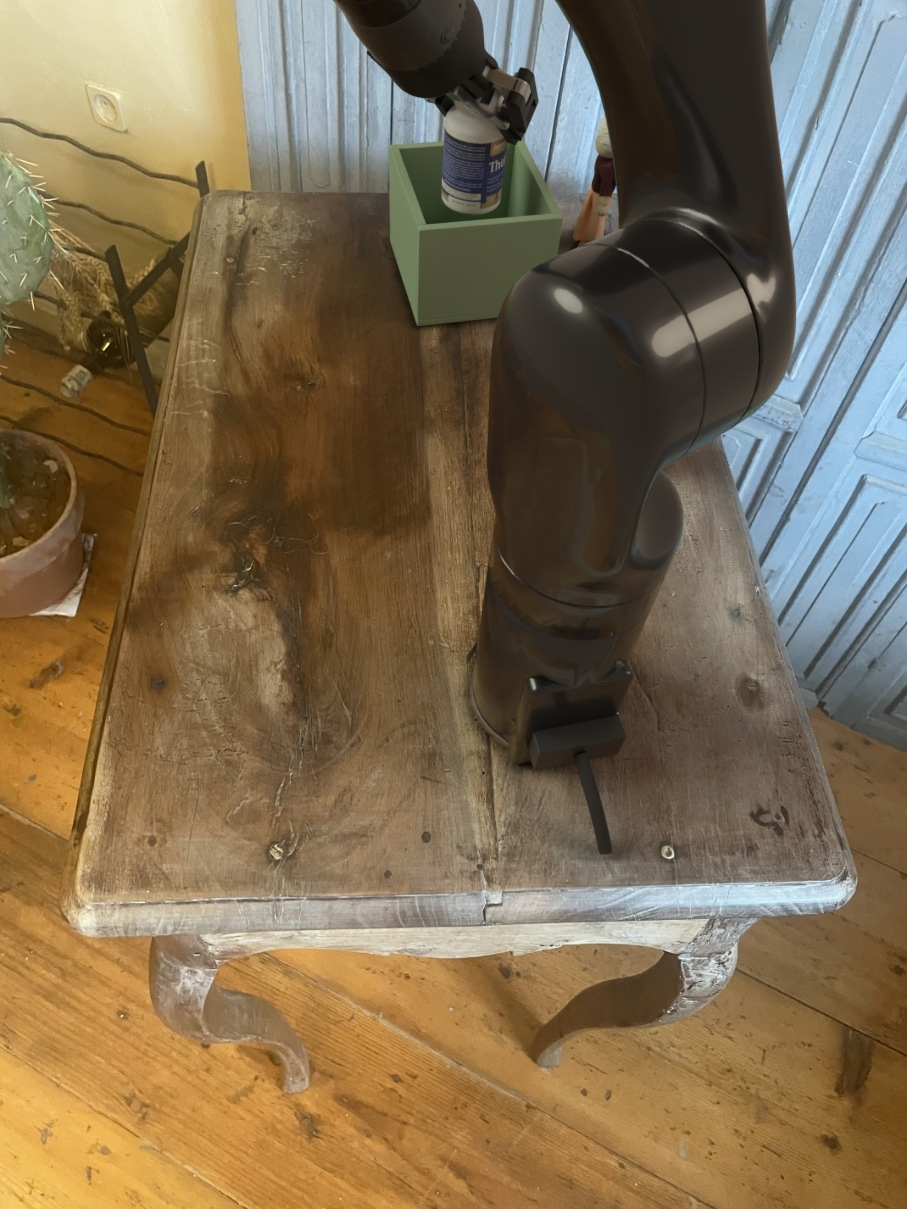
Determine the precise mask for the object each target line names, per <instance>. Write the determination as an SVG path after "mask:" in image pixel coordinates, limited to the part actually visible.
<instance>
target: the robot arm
mask: <svg viewBox="0 0 907 1209" xmlns="http://www.w3.org/2000/svg"><path fill="white" fill-rule="evenodd" d="M332 2H333V3H334V4H335V5H336V7H337V8H338V9H339V11H341V13H342V14H343V16H344V17H345V19H346V21H347V23H348V25H349V26H350V28H351V31H353V33H354V34H355V36H356V37H357V38H358V40H359V41H360V43H361V45H363V46H364V47H365V49H366V54H367V56H368V57H369V58H370V59H371V60H372V61H374V62H375V63H376V65H378V66H379V68H381V69H382V70H383V71H384V72H385V73H386V74H387V75H388V77H389V78H390V79H391V80H392V81H393V83H394V84H395V85H396V86H397V88H399V89H400V90H401V91H402V92H404V93H405V94H408V95H409V96H412V97H414V98H419V99H423V100H424V101H425V102H427V103H429V104H434V105H435V106H436V108H437V109H438V111H439V112H440V113H441V114H442V116H443V118H445V117H446V114H447V112H448V111H449V110H450V109H451V108H452V107H453V106H454V105H455V103H454V101H456V102H460V103H462V104H463V105H464V106H465V107H466V108H467V109H468V110H470V111H471V112H472V113H473V114H474V115H475V116H476V117H480V118H485V119H490V120H491V121H492V122H493V123H494V124H496V126H497V128H498V129H499V131H500V132H501V134H502V135H503V136H504V138H505V140H506V141H507V143H510V144H513V145H516V144H517V143H518V141H521V140H522V139H523V138H524V136H525V134H526V133H527V130H528V128H529V126H530V124H531V122H532V119H533V117H534V114H535V111H536V109H537V107H538V105H539V103H540V101H539V100H540V99H539V94H538V88H537V82H536V76H535V74H534V72H533V71H532V70H530V68H527V67H523V66H522V67H521V66H520V67H519V68H518V70H517V71H515V72H514V74H513V75H512V74H509V73H507V72H505V71H504V70H503V69H501V67H500V66H499V63H498V61H497V60H496V58H494V57H493V56H492V55H491V54H490V53H489V52H488V51H487V49H486V46H485V32H484V23H483V18H482V15H481V11H480V9H479V7H478V5H477V4H476V1H475V0H332ZM554 2H555V3H556V5H557V6H558V8H559V9H560V11H561V13H562V15H563V16H564V18H565V19H566V21H567V24H568V25H569V26H570V28H571V30H572V31H573V33H574V35H575V36H576V38H577V41H578V42H579V45H580V48H581V49H582V51H583V53H584V56H585V58H586V59H587V62H588V64H589V67H590V69H591V72H592V76H593V79H594V81H595V84H596V87H597V89H598V93H599V97H600V101H601V106H602V109H603V112H604V116H605V118H606V123H607V129H608V134H609V139H610V145H611V151H612V158H613V165H614V171H615V180H616V188H615V190H616V197H617V211H618V212H617V213H618V220H617V221H618V222H617V223H618V225H617V227H618V228H617V230H614V231H612V232H610V233H607V234H604V236H603V237H601V238H598V239H596V240H594V241H591V242H589V243H587V244H584V245H582V246H580V247H578V248H577V247H575V248H573V249H571V250H569V251H566V252H564V253H561V254H559V255H557V257H555V258H552V259H550V260H548V261H546V262H544V263H541V264H539V265H537V266H535V267H534V268H532V269H531V270H529V271H527V272H526V273H524V274H523V275H522V276H521V277H520V278H519V279H518V280H517V281H516V282H515V283H514V285H513V286H512V288H511V289H510V291H509V292H508V294H507V296H506V298H505V300H504V302H503V304H502V307H501V310H500V312H499V315H498V318H496V323H495V327H494V331H493V337H492V343H491V344H492V345H491V350H490V351H491V352H490V365H489V366H490V368H489V388H488V390H489V392H488V393H489V395H488V419H487V441H486V475H487V482H488V489H489V492H490V497H491V501H492V505H493V510H494V520H493V529H492V534H491V535H492V536H491V542H490V543H491V544H490V550H489V554H488V555H489V556H488V562H487V570H486V571H487V572H486V577H485V584H484V592H483V597H482V598H483V599H482V605H481V612H480V621H479V628H478V635H477V641H476V642H475V643H474V645H473V646H472V647H471V649H470V650H469V652H468V654H467V656H466V664H465V665H466V666H467V665H468V664H469V662H470V661H471V659H472V658H473V657H474V655H475V658H474V667H473V668H472V669H473V670H472V673H471V678H470V686H469V696H470V697H469V698H470V705H471V708H472V711H473V714H474V716H475V719H476V720H477V722H478V723H479V725H480V726H481V728H482V729H483V730H484V732H486V735H488V736H489V737H490V738H491V739H492V740H493V741H495V742H496V743H497V744H499V745H500V746H502V747H503V748H505V749H507V751H508V753H509V755H510V759H511V762H512V763H513V764H515V765H521V764H527V763H531V764H532V768H533V770H534V771H538V770H539V771H540V770H544V769H549V768H554V767H558V766H565V765H568V764H575V766H576V771H577V774H578V776H579V777H578V778H579V781H580V783H581V786H582V791H583V794H584V797H585V800H586V801H585V802H586V804H587V808H588V812H589V815H590V819H591V823H592V827H593V831H594V836H595V841H596V845H597V850H598V854H600V855H605V856H606V855H609V854H611V853H613V845H612V841H611V836H610V831H609V826H608V822H607V818H606V814H605V810H604V807H603V803H602V799H601V796H600V792H599V788H598V785H597V782H596V778H595V776H594V772H593V768H592V766H591V762H590V760H595V759H600V758H604V757H609V756H614V755H618V754H619V753H620V750H621V748H622V747H623V744H624V743H625V740H626V738H627V734H626V731H625V729H624V726H623V723H622V721H621V718H620V716H619V711H620V709H621V707H622V705H623V703H624V701H625V698H626V696H627V694H628V691H629V689H630V687H631V684H632V682H633V681H634V679H635V672H634V669H633V667H632V665H631V662H630V660H631V658H632V656H633V653H634V651H635V649H636V646H637V643H638V641H639V639H640V636H641V634H642V632H643V630H644V627H645V625H646V622H647V620H648V617H649V616H650V613H651V611H652V608H653V606H654V604H655V601H656V600H657V597H658V595H659V593H660V590H661V588H662V586H663V582H664V580H665V578H666V576H667V574H668V571H669V569H670V567H671V566H672V563H673V560H674V557H675V555H676V553H677V551H678V548H679V546H680V542H681V539H682V535H683V530H684V519H685V516H684V508H683V503H682V500H681V497H680V494H679V491H678V489H677V487H676V486H675V484H674V482H673V481H672V479H671V477H670V476H669V475H668V474H667V473H666V472H665V470H664V469H666V468H668V467H669V466H671V465H673V464H674V463H676V462H677V461H679V460H681V459H683V458H684V457H686V456H688V455H690V454H692V453H693V452H695V451H696V450H698V449H699V448H701V447H703V446H704V445H706V444H708V443H710V442H711V441H713V440H715V439H716V438H717V437H719V436H721V435H723V434H725V433H727V432H728V431H730V430H732V429H733V428H735V427H736V426H738V425H739V424H741V423H742V422H744V421H745V420H747V419H748V418H749V417H751V416H753V415H754V414H756V412H757V411H758V410H760V409H761V408H762V407H763V406H764V405H765V404H766V403H768V401H769V400H770V399H771V398H772V397H773V396H774V394H775V393H776V392H777V390H778V389H779V387H780V386H781V384H782V381H783V380H784V378H785V376H786V374H787V371H788V368H789V366H790V363H791V359H792V355H793V351H794V345H795V339H796V331H797V289H796V288H797V287H796V272H795V263H794V262H795V261H794V252H793V243H792V235H791V228H790V220H789V219H790V217H789V212H788V210H789V209H788V203H787V196H786V187H785V179H784V178H785V177H784V170H783V163H782V155H781V154H782V153H781V147H780V138H779V130H778V122H777V114H776V105H775V97H774V88H773V77H772V71H771V70H772V69H771V60H770V58H771V57H770V48H769V46H770V45H769V37H768V36H769V35H768V25H767V24H768V23H767V6H766V0H554ZM500 96H502V97H503V102H502V106H501V108H500V110H499V112H498V111H497V104H498V101H499V99H500ZM480 98H481V99H480ZM478 99H480V101H479V102H478V101H477V100H478Z"/></svg>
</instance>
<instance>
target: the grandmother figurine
mask: <svg viewBox="0 0 907 1209" xmlns="http://www.w3.org/2000/svg"><path fill="white" fill-rule="evenodd" d="M595 150H596V152H597V154H598V155H597V156H596V158H595V162H594V166H593V176H592V180H591V185H590V187H589V189H588V192H587V194H586V197H585V199H584V201H583V204H582V206H581V209H580V212H579V215H578V217H577V220H576V223H575V227H574V230H573V234H572V239H573V240H574V241H577V242H578V241H579V242H578V244H577V246H576V248H578V247H580V246H582V245H584V244H587V243H589V242H591V241H594V240H596V239H598V238H601V237H603V236H605V232H604V231H605V224H606V223H605V222H606V217H607V215H608V213H609V210H610V207H611V204H612V201H613V197H614V192H615V190H616V180H615V171H614V165H613V158H612V151H611V145H610V139H609V134H608V129H607V123H606V118H605V115H603V117H602V118H601V120H600V123H599V125H598V129H597V136H596V138H595Z"/></svg>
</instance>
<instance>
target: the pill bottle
mask: <svg viewBox="0 0 907 1209" xmlns="http://www.w3.org/2000/svg"><path fill="white" fill-rule="evenodd" d="M480 99H481V98H480ZM480 99H478V100H477V101H478V102H479V101H480ZM503 100H504V98H503V97H502V96H500V99H499V101H498V104H497V111H498V112H499V110H500V108H501V106H502V102H503ZM454 103H455V105H454V106H453V107H452V108H451V109H450V110H449V111H448V112H447V114H446V117H444V126H443V128H444V129H443V141H444V148H443V169H442V200H443V202H444V203H445V205H446V206H447V207H449V208H450V209H451V210H454V211H456V212H459V213H462V214H467V215H482V214H486V213H489V212H491V211H492V210H494V209H495V208H497V206H498V205H499V203H500V199H501V192H502V184H503V175H504V166H505V157H506V148H507V141H506V140H505V138H504V136H503V135H502V134H501V132H500V131H499V129H498V128H497V126H496V124H494V123H493V122H492V121H491V120H490V119H485V118H480V117H476V116H475V115H474V114H473V113H472V112H471V111H470V110H468V109H467V108H466V107H465V106H464V105H463V104H462V103H460V102H456V101H454Z"/></svg>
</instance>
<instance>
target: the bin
mask: <svg viewBox="0 0 907 1209" xmlns="http://www.w3.org/2000/svg"><path fill="white" fill-rule="evenodd" d="M443 148H444V140H441V141H428V142H427V141H426V142H413V143H412V142H411V143H398V144H389V145H388V175H389V176H388V177H389V178H388V184H389V186H388V188H389V189H388V190H389V192H388V194H389V195H388V196H389V197H388V198H389V242H390V245H391V248H392V252H393V254H394V258H395V260H396V265H397V266H398V267H397V268H398V271H399V274H400V276H401V279H402V283H403V286H404V289H405V292H406V295H407V298H408V301H409V304H410V308H411V311H412V313H413V317H414V320H415V323H416V324H415V325H416V326H417V327H423V326H432V325H433V326H434V325H443V324H451V323H452V324H453V323H460V322H469V321H478V320H480V321H481V320H488V319H498V315H499V312H500V310H501V307H502V304H503V302H504V300H505V298H506V296H507V294H508V292H509V291H510V289H511V288H512V286H513V285H514V283H515V282H516V281H517V280H518V279H519V278H520V277H521V276H522V275H523V274H524V273H526V272H527V271H529V270H531V269H532V268H534V267H535V266H537V265H539V264H541V263H544V262H546V261H548V260H550V259H552V258H555V257H557V256H558V252H559V247H560V241H561V235H562V229H563V223H564V216H563V214H562V212H561V210H560V207H559V206H558V204H557V203H556V201H555V198H554V196H553V194H552V193H551V191H550V189H549V187H548V185H547V183H546V181H545V179H544V177H543V175H542V173H541V171H540V170H539V167H538V165H537V164H536V161H535V159H534V158H533V156H532V154H531V152H530V150H529V148H528V146H527V144H526V142H525V140H524V139H523V138H522V140H521V141H518V143H517V144H516V145H513V144H510V143H507V148H506V157H505V166H504V175H503V184H502V192H501V199H500V203H499V205H498V206H497V208H495V209H494V210H492V211H491V212H489V213H486V214H482V215H467V214H462V213H459V212H456V211H454V210H451V209H450V208H449V207H447V206H446V205H445V203H444V202H443V200H442V169H443Z"/></svg>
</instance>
